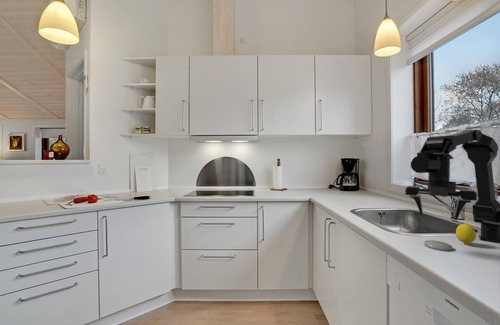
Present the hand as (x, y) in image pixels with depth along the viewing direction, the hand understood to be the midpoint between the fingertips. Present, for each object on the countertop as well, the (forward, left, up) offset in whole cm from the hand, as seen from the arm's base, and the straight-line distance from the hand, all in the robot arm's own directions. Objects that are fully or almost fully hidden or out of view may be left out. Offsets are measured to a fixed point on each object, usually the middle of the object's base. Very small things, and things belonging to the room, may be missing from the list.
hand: (438, 217), depth 81 cm
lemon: (-16, +8, -12) cm, 22 cm away
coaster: (-6, 0, -12) cm, 13 cm away
